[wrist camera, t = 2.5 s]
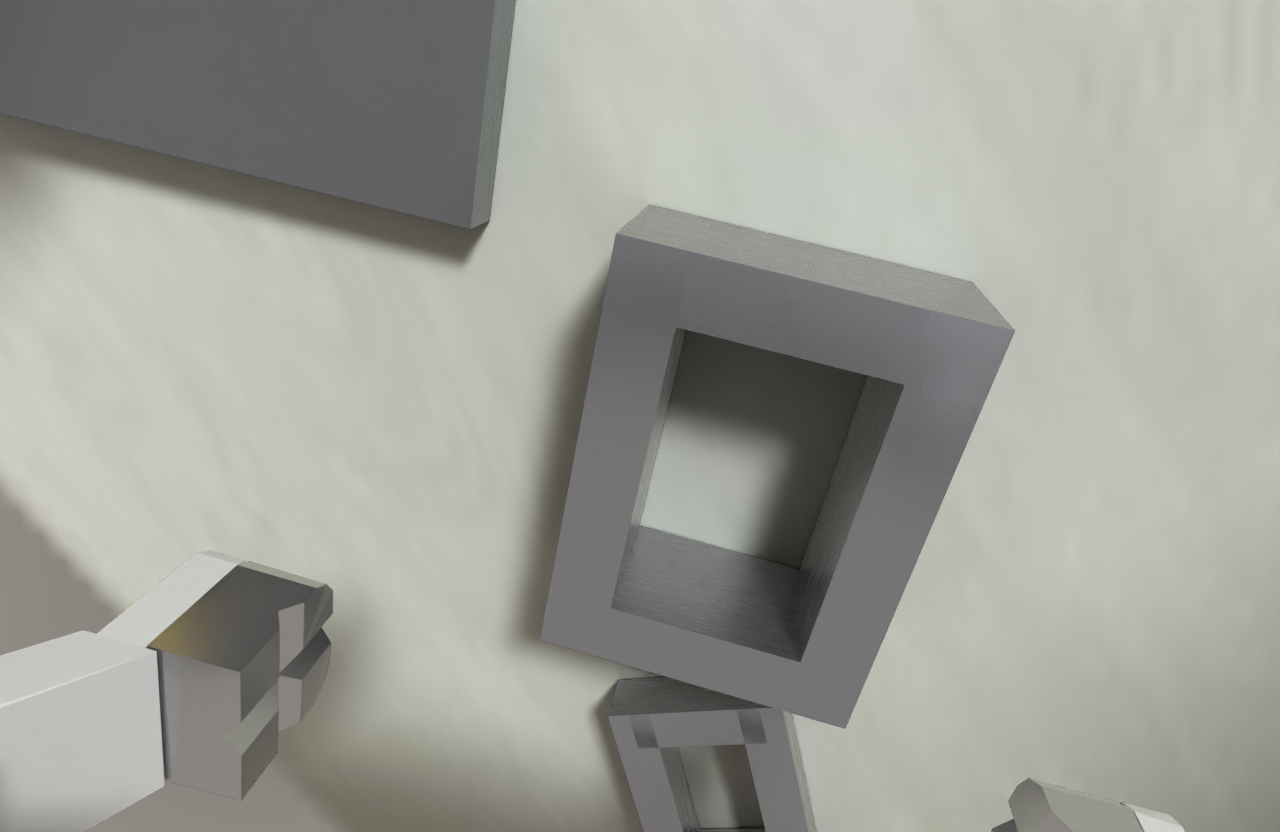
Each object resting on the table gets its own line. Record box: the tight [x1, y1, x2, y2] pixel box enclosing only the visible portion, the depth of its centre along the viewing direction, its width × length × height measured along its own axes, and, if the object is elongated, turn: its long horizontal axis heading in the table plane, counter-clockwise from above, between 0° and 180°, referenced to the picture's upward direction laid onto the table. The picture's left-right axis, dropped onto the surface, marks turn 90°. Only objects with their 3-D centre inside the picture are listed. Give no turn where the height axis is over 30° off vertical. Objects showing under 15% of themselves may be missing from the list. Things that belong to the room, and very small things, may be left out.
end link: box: [540, 205, 1015, 729], centre depth 15 cm, size 6×8×3 cm
